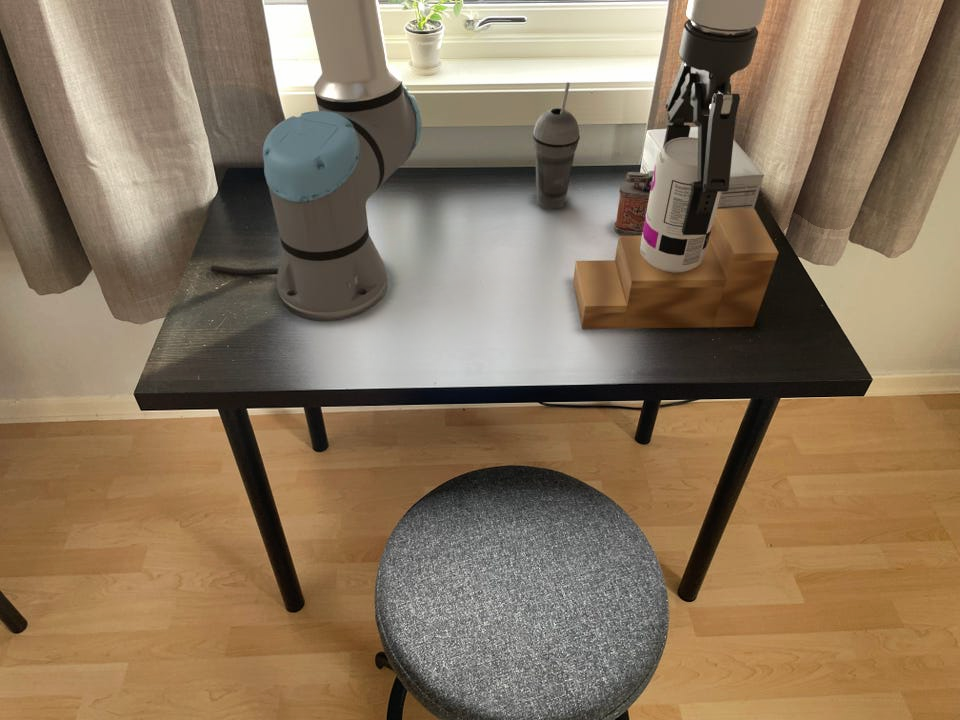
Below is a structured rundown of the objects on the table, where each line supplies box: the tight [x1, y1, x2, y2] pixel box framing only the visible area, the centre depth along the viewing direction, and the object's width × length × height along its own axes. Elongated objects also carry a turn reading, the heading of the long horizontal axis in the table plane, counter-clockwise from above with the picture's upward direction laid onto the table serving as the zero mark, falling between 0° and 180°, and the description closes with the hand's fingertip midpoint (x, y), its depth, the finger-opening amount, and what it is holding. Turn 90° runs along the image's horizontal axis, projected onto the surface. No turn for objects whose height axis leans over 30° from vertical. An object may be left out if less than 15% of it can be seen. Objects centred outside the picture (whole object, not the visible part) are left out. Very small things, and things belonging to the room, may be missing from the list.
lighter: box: [613, 171, 654, 236], centre depth 111 cm, size 8×3×10 cm, turn 84°
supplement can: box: [640, 137, 721, 273], centre depth 91 cm, size 8×8×15 cm
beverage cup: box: [532, 82, 581, 210], centre depth 114 cm, size 7×7×20 cm
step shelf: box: [572, 208, 779, 330], centre depth 98 cm, size 23×10×12 cm, turn 92°
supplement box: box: [639, 126, 765, 209], centre depth 118 cm, size 17×13×9 cm
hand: (680, 202), depth 91 cm, fingers open, 13 cm apart
